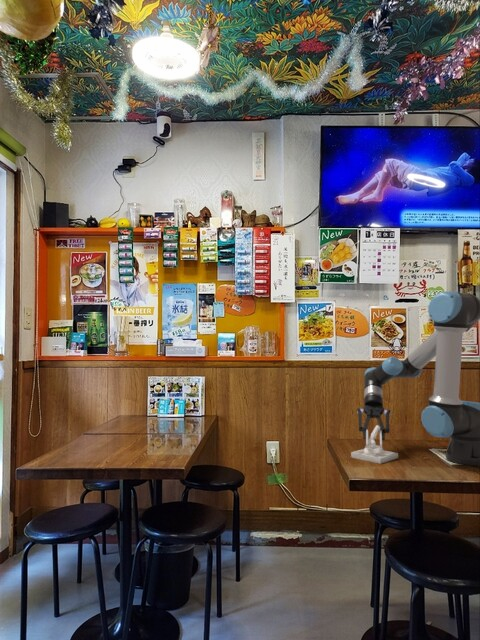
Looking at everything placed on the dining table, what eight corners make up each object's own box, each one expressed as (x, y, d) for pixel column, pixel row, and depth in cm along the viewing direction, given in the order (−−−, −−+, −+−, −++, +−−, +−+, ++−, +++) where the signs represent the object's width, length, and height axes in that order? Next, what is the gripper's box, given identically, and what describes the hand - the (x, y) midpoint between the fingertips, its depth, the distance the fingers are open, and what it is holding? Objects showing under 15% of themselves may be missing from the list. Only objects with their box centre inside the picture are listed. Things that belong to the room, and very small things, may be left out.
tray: (398, 458, 174) (398, 453, 174) (380, 463, 166) (380, 458, 166) (369, 452, 184) (369, 447, 184) (351, 457, 175) (351, 452, 175)
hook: (396, 436, 172) (382, 429, 171) (381, 463, 172) (367, 456, 171) (387, 429, 179) (373, 422, 178) (372, 455, 180) (359, 448, 178)
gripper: (394, 405, 188) (397, 453, 171) (352, 403, 193) (351, 449, 177) (395, 394, 184) (398, 442, 167) (352, 392, 189) (350, 439, 172)
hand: (374, 446), depth 172 cm, fingers closed on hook, 4 cm apart
